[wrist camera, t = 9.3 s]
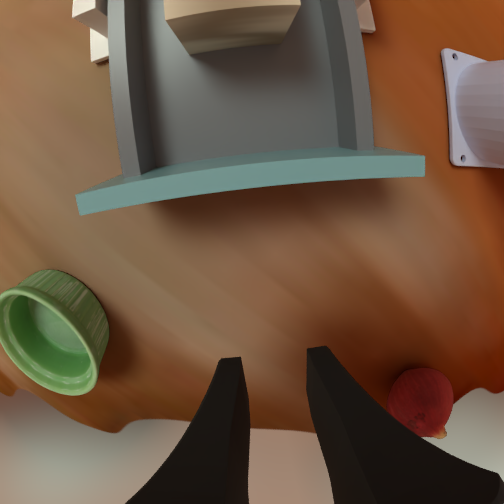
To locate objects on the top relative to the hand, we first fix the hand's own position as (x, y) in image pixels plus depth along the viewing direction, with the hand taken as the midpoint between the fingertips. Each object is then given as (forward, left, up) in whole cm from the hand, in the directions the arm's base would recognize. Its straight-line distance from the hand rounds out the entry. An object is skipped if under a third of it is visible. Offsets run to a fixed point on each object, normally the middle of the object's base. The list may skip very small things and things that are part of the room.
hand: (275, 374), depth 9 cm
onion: (-12, +13, -10) cm, 20 cm away
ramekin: (+15, +3, -10) cm, 18 cm away
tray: (0, -13, -8) cm, 15 cm away
